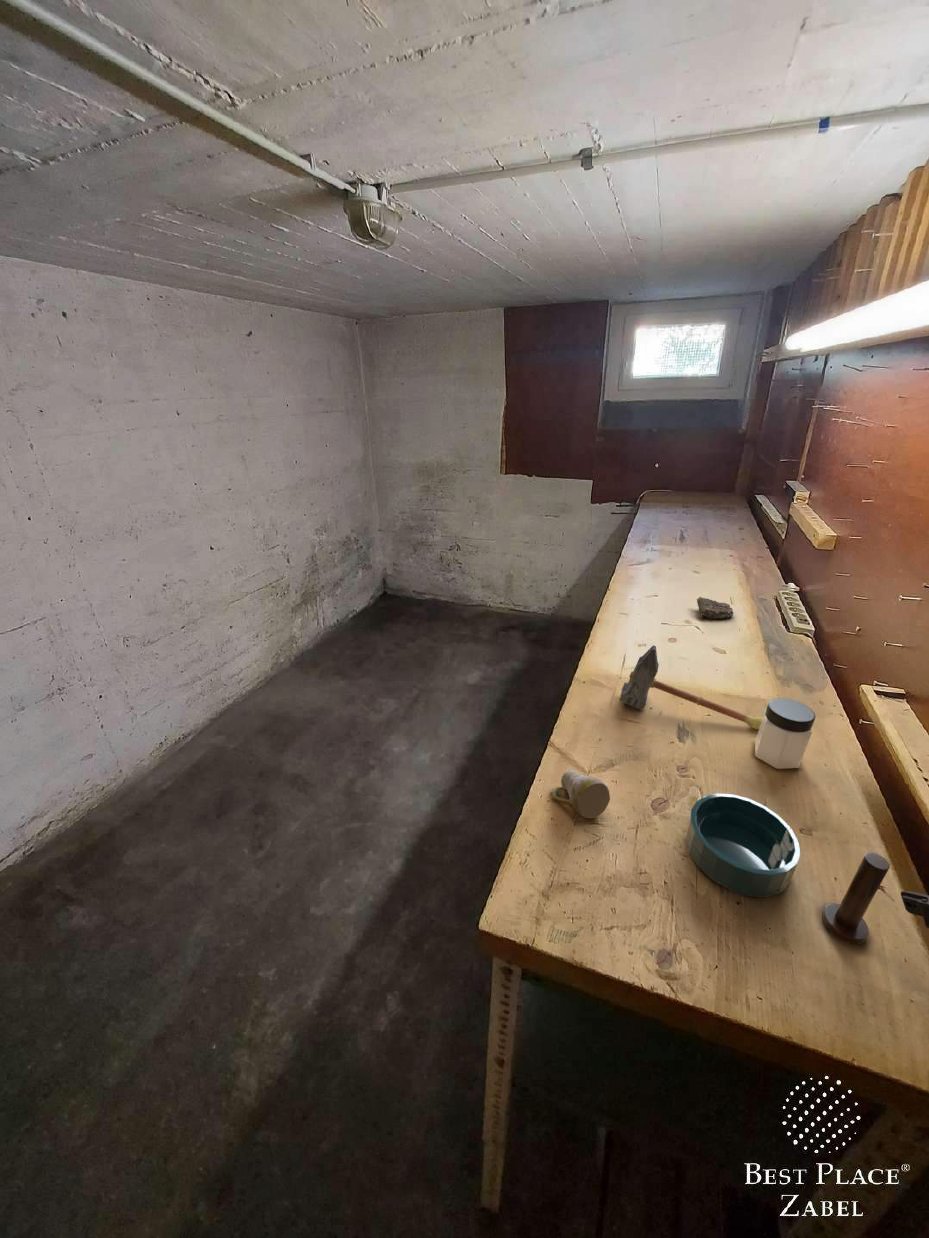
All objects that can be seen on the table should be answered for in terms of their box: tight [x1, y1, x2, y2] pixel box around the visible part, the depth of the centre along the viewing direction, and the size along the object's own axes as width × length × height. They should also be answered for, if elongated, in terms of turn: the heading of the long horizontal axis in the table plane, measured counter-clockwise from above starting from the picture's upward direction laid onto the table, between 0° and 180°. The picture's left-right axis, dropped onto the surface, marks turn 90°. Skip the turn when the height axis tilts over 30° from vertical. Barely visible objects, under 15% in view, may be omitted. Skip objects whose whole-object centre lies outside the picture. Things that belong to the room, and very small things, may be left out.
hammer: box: [619, 644, 763, 731], centre depth 112 cm, size 6×16×30 cm
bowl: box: [684, 792, 802, 898], centre depth 79 cm, size 16×16×6 cm
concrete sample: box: [696, 596, 734, 620], centre depth 161 cm, size 12×10×5 cm
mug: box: [552, 769, 611, 819], centre depth 90 cm, size 8×10×10 cm
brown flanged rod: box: [821, 852, 890, 945], centre depth 67 cm, size 5×5×14 cm
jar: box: [754, 697, 816, 770], centre depth 99 cm, size 9×8×12 cm
